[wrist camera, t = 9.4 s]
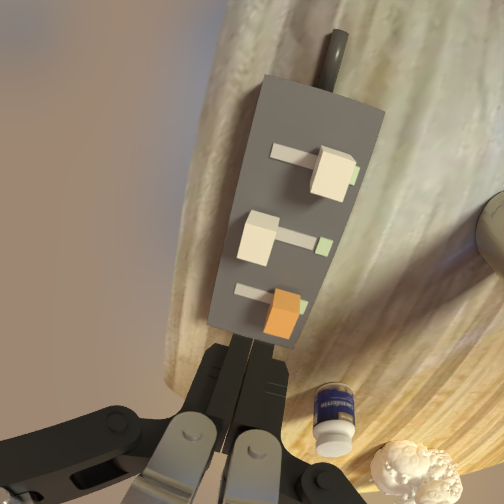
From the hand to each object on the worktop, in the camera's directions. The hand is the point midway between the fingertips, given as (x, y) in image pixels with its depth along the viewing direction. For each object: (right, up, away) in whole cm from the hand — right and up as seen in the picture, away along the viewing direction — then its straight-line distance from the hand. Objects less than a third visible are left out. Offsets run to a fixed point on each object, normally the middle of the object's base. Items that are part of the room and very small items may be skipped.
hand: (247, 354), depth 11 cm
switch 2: (+3, -1, +20) cm, 20 cm away
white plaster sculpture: (+33, -38, +39) cm, 64 cm away
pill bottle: (+12, -17, +31) cm, 37 cm away
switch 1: (+1, +6, +17) cm, 18 cm away
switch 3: (+6, +10, +13) cm, 18 cm away
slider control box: (+4, +9, +19) cm, 21 cm away
